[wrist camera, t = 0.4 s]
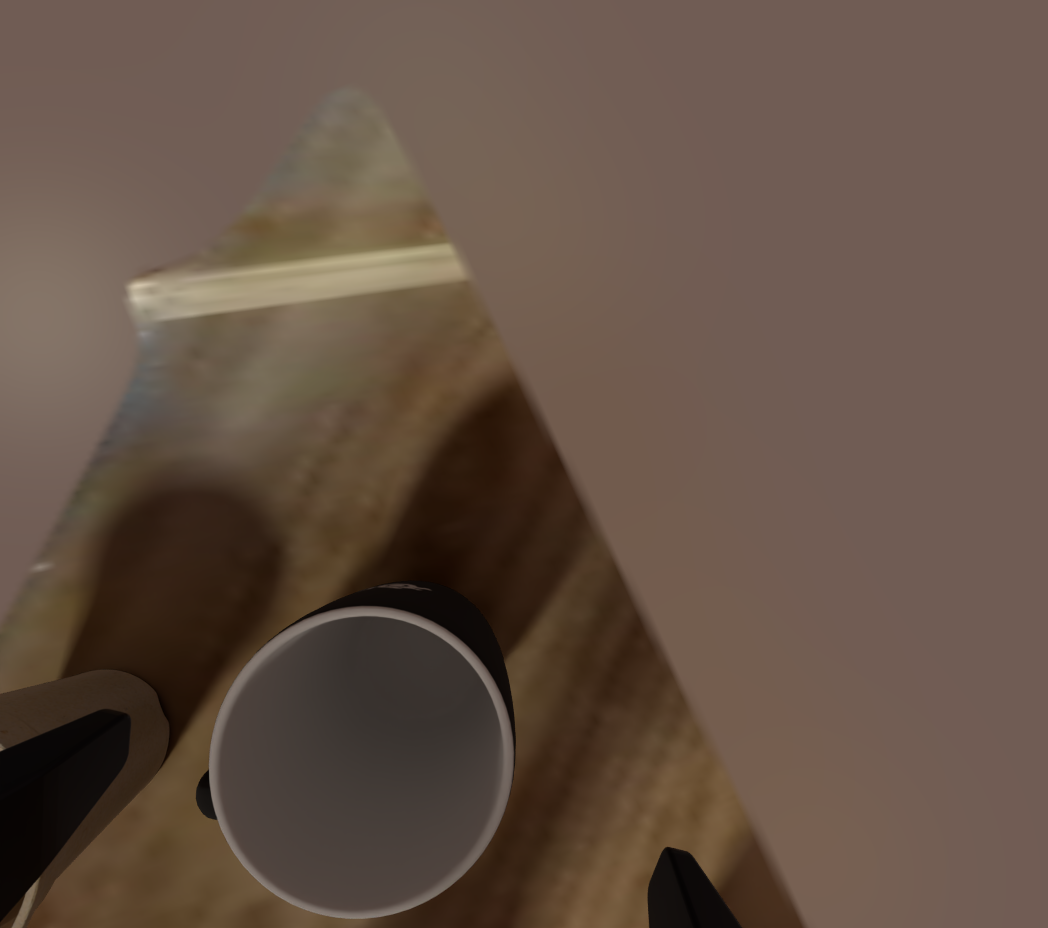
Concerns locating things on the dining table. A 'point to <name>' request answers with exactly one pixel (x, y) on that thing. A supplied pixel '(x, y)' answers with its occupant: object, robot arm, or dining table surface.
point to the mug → (366, 752)
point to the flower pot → (66, 701)
